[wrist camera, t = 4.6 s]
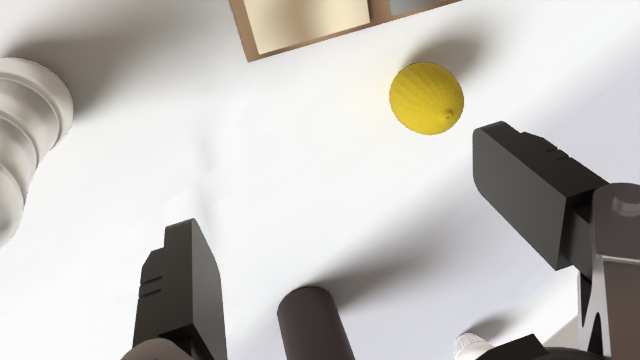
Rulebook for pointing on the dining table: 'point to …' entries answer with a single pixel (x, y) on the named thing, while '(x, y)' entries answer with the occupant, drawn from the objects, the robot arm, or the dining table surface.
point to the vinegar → (312, 327)
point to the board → (313, 20)
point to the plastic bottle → (27, 131)
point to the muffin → (470, 347)
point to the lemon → (426, 98)
